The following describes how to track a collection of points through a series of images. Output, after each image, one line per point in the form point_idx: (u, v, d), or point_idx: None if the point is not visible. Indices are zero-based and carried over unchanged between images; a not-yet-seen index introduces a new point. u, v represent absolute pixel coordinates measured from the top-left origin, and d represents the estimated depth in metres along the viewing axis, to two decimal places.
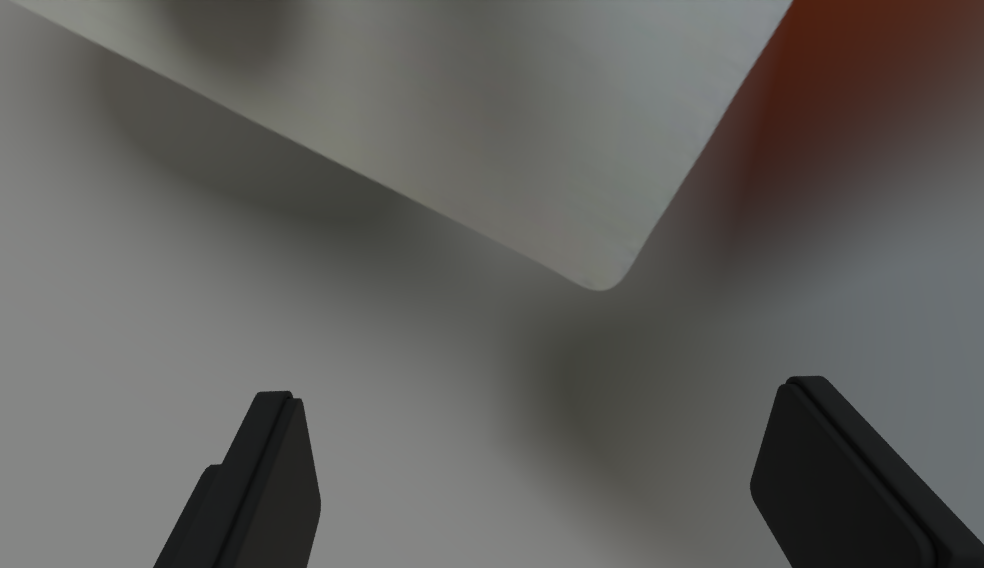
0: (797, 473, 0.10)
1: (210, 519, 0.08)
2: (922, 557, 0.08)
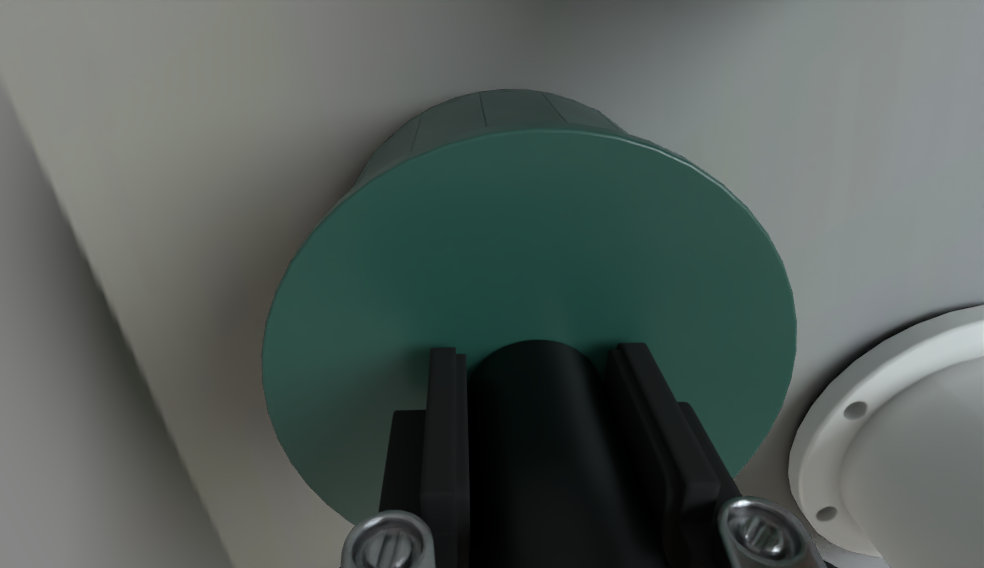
0: None
1: (437, 444, 0.09)
2: (669, 491, 0.09)
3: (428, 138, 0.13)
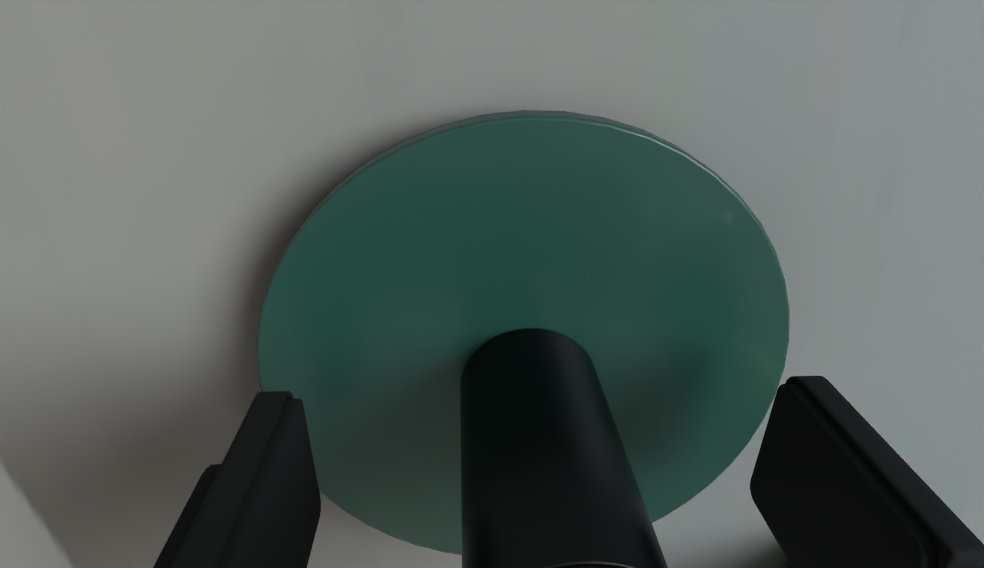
0: (797, 473, 0.10)
1: (210, 519, 0.08)
2: (922, 557, 0.08)
3: None
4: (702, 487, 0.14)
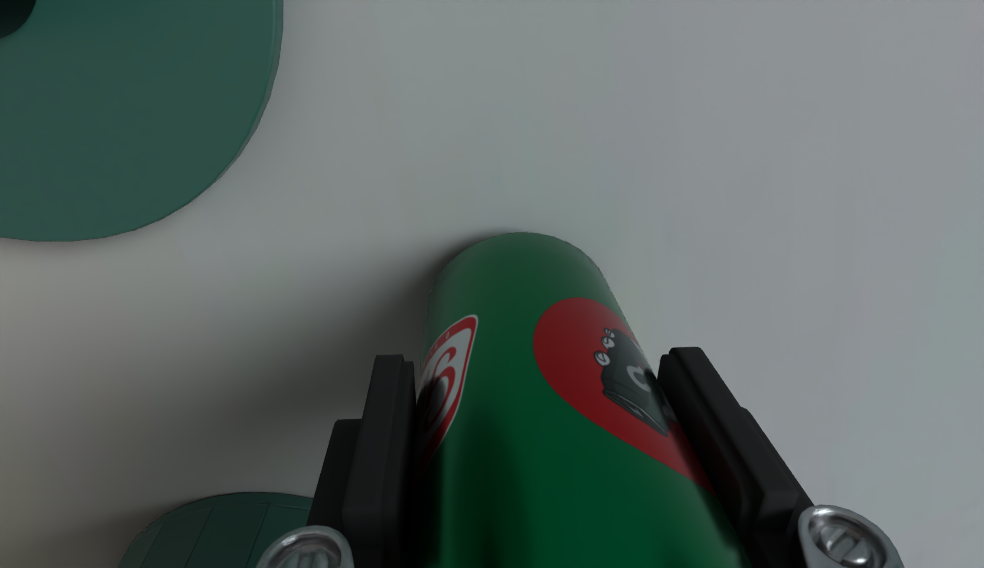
0: None
1: (367, 456, 0.09)
2: (744, 499, 0.08)
3: None
4: (240, 137, 0.12)
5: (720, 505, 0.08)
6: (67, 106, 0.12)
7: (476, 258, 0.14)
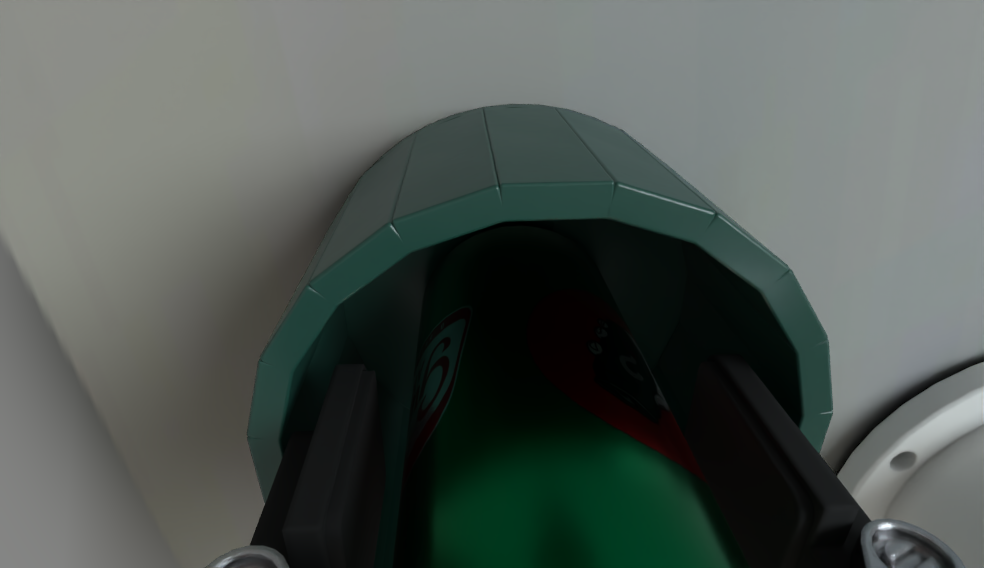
0: (713, 445, 0.11)
1: (315, 472, 0.08)
2: (801, 513, 0.08)
3: (422, 168, 0.10)
4: None
5: (710, 491, 0.08)
6: None
7: (472, 251, 0.14)
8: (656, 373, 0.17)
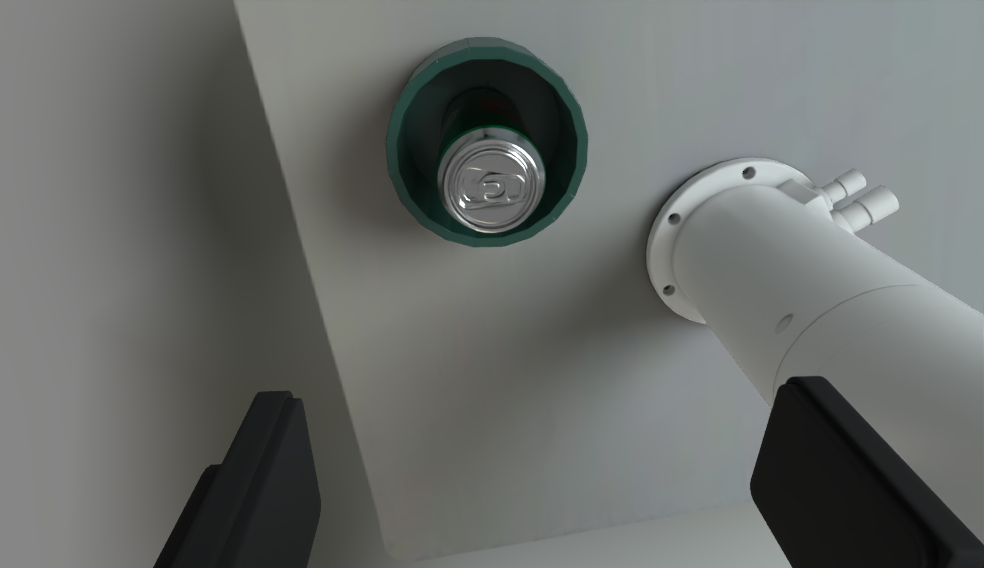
0: (797, 473, 0.10)
1: (210, 519, 0.08)
2: (922, 557, 0.08)
3: (444, 51, 0.30)
4: None
5: (530, 135, 0.28)
6: None
7: (462, 96, 0.33)
8: (549, 167, 0.37)
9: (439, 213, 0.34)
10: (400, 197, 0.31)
